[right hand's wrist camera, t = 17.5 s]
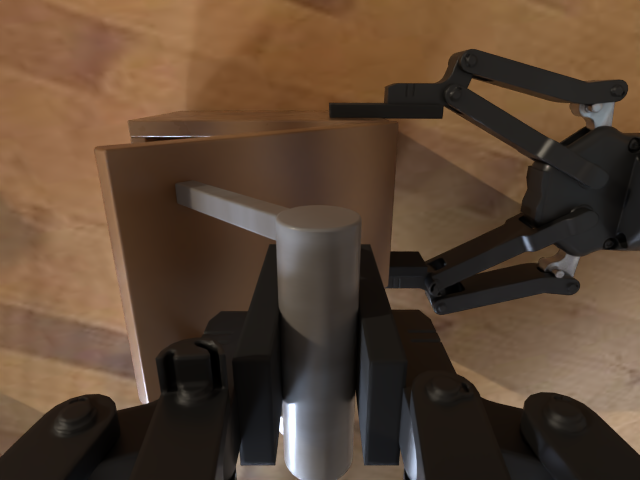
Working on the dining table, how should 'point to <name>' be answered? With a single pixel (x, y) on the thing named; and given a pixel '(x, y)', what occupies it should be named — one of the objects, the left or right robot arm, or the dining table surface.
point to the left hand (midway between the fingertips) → (328, 191)
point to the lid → (257, 257)
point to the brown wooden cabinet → (229, 123)
